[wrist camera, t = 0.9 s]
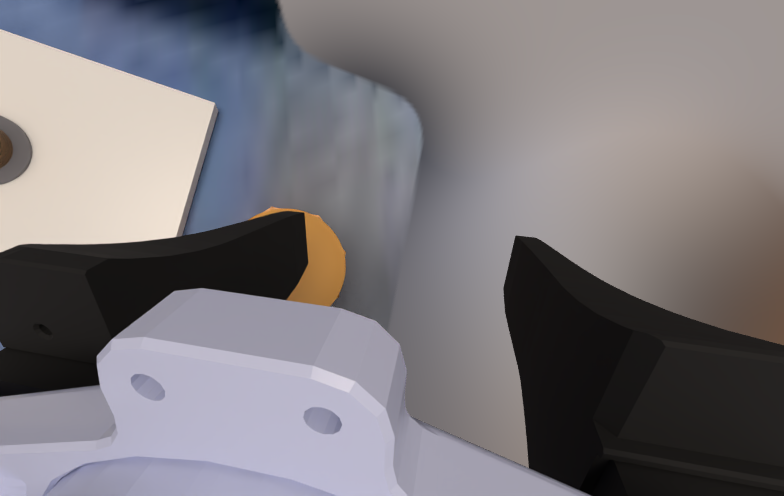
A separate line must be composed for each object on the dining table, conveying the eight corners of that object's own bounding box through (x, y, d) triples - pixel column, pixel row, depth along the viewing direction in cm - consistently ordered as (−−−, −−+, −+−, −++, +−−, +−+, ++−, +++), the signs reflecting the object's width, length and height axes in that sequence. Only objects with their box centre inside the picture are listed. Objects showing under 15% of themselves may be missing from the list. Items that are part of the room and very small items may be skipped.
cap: (274, 324, 22) (272, 352, 16) (217, 253, 21) (193, 254, 15) (344, 271, 24) (368, 278, 18) (294, 202, 23) (300, 185, 17)
